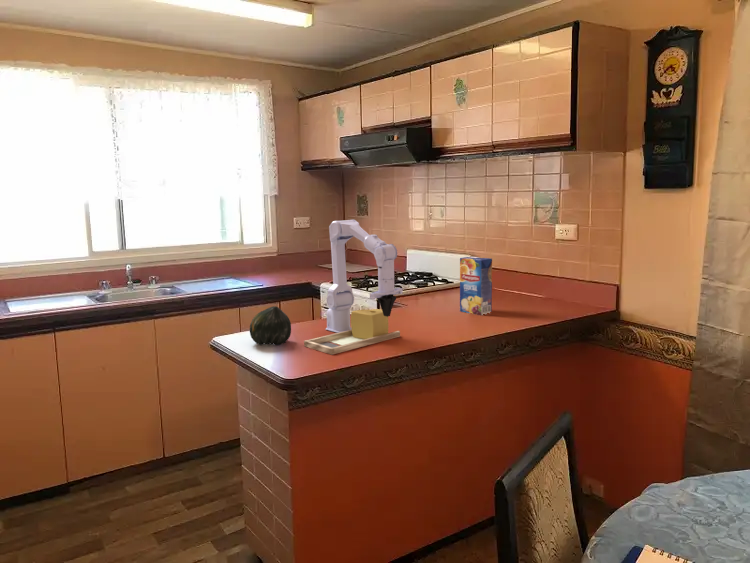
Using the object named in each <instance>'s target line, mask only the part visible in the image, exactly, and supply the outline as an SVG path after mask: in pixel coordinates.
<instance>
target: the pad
mask: <svg viewBox="0 0 750 563" xmlns="http://www.w3.org/2000/svg"><path fill="white" fill-rule="evenodd" d="M360 340H364V339H361V338H355V337H353V335H352V336H348V337H344V338H340V339H336V340H332V341H328V342H329V343H332V344H335V345H339V346H341V345H345V344H349V343H352V342H356V341H360Z"/></svg>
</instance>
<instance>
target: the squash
mask: <svg viewBox="0 0 750 563" xmlns="http://www.w3.org/2000/svg"><path fill="white" fill-rule="evenodd" d="M291 334H292V323H291V320H290V317H289V316H288V315H287V314H286V313H285V312H284V311H283V310H282V309H281V308H280V307H278V306H275V305H274V306H270V307H268V308H266V309H264V310H261V311H260V312H258V313H257V314H255V315H254V317H253V318H252V320H251V322H250V325H249V335H250V337H251V339H252V341H254V342H255V343H256V344H257V345H260V346H261V345H262V346H263V345H276V346H281V345H283V344H284V343H286V342H287V341H288V340H289V339H290V337H291Z"/></svg>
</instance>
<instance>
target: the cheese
mask: <svg viewBox="0 0 750 563" xmlns="http://www.w3.org/2000/svg"><path fill="white" fill-rule="evenodd" d="M350 328H352V334H353V337H355V338H361V339H368V338H372V337H376V336H380V335H384V334H387V333H389V316H388V317H387V316H384V315H383V311H382V308H379V309H378V308H372V309H356V310H352V311H350Z"/></svg>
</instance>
